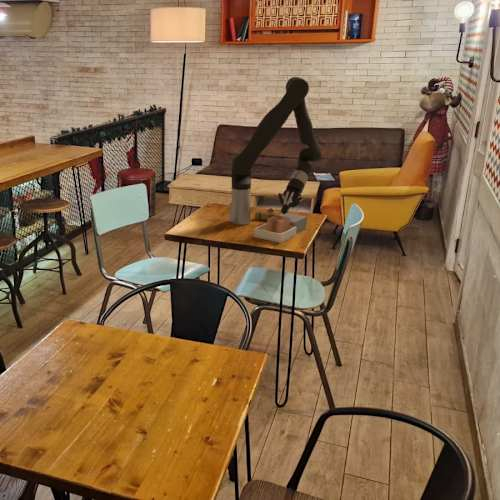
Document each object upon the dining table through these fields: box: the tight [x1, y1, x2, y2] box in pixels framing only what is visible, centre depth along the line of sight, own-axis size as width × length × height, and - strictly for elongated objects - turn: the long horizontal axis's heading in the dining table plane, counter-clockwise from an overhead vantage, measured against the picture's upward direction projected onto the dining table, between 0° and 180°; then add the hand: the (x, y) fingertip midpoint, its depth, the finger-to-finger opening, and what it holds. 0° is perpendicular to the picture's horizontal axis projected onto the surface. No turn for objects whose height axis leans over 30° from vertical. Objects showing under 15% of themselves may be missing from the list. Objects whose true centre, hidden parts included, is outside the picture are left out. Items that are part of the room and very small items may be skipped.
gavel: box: [254, 207, 277, 221], centre depth 246 cm, size 21×5×10 cm
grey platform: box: [278, 212, 308, 235], centre depth 224 cm, size 12×12×6 cm
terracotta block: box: [266, 214, 290, 234], centre depth 215 cm, size 7×7×8 cm
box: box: [253, 222, 297, 244], centre depth 214 cm, size 14×14×4 cm
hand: (283, 213), depth 217 cm, fingers closed
